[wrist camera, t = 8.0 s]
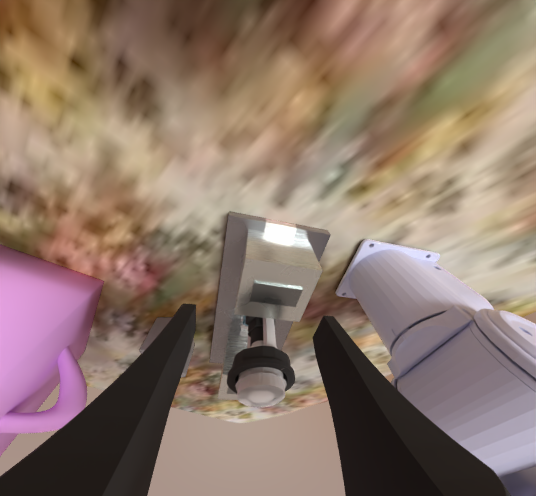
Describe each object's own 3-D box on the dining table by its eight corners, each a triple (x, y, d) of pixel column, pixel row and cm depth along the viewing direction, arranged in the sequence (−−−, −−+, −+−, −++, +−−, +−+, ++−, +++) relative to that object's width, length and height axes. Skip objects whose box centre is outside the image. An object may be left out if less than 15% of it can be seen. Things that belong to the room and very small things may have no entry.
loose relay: (188, 316, 26) (175, 351, 21) (195, 344, 29) (184, 379, 25) (157, 316, 25) (137, 352, 21) (167, 344, 28) (152, 380, 24)
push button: (261, 324, 25) (262, 422, 17) (224, 310, 24) (204, 410, 15) (291, 292, 23) (312, 389, 14) (252, 273, 21) (248, 370, 12)
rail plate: (327, 230, 20) (352, 265, 15) (273, 361, 32) (276, 407, 26) (229, 211, 18) (218, 243, 13) (210, 355, 30) (200, 403, 25)
